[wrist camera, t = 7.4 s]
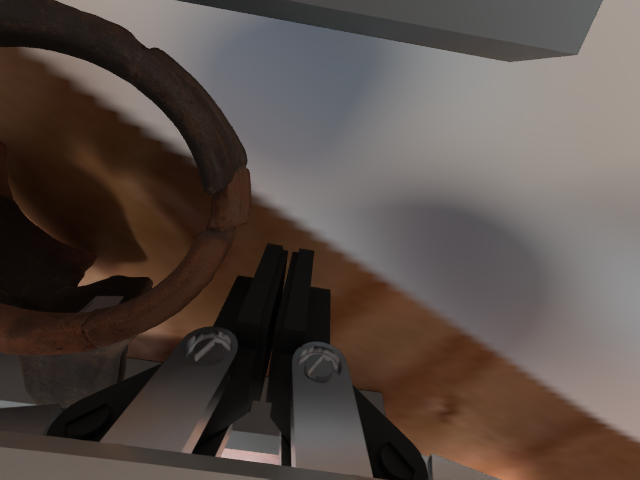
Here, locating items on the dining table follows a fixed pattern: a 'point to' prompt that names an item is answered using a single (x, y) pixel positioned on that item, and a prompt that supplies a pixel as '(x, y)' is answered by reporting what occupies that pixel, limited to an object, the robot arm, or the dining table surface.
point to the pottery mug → (71, 263)
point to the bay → (404, 26)
